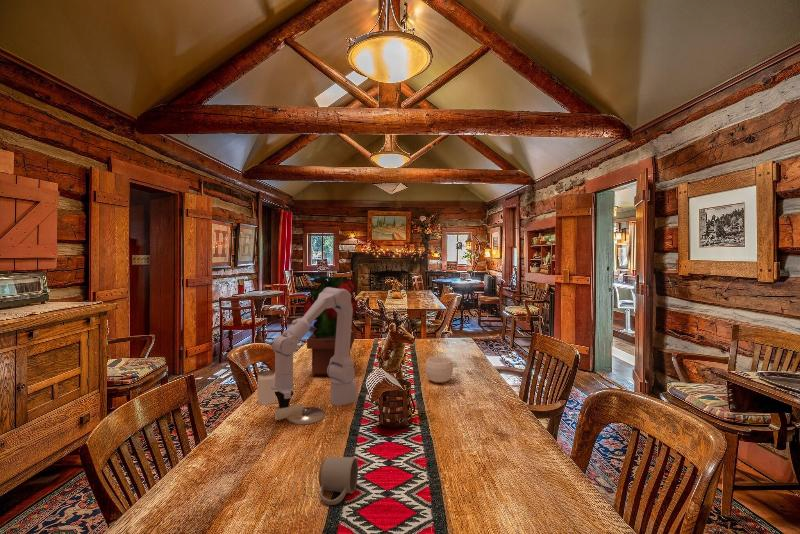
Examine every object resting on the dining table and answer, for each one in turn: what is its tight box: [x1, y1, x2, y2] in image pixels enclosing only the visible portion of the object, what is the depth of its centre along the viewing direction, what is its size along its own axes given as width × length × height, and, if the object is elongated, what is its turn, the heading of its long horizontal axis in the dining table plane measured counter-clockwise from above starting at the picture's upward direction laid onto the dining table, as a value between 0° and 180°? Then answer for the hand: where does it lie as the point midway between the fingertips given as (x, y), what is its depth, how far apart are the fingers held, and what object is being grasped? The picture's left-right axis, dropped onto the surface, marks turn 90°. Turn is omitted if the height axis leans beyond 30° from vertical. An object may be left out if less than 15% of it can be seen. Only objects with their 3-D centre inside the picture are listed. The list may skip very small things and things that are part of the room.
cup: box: [424, 356, 454, 384], centre depth 179 cm, size 12×12×10 cm
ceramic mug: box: [318, 456, 359, 506], centre depth 96 cm, size 11×8×8 cm
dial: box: [274, 403, 325, 426], centre depth 135 cm, size 16×12×5 cm
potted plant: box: [303, 275, 359, 377], centre depth 189 cm, size 22×22×45 cm
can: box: [257, 370, 277, 406], centre depth 149 cm, size 6×6×12 cm
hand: (283, 412), depth 134 cm, fingers closed
